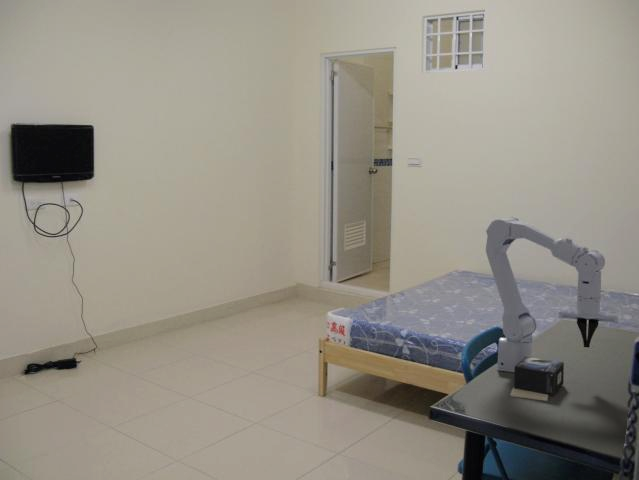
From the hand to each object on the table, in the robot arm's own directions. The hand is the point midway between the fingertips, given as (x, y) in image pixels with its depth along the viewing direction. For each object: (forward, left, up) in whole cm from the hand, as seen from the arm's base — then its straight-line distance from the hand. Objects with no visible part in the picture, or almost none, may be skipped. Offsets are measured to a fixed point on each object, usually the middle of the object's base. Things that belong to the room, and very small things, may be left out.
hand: (586, 346), depth 172 cm
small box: (-6, -9, -7) cm, 13 cm away
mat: (-13, -10, -10) cm, 19 cm away
